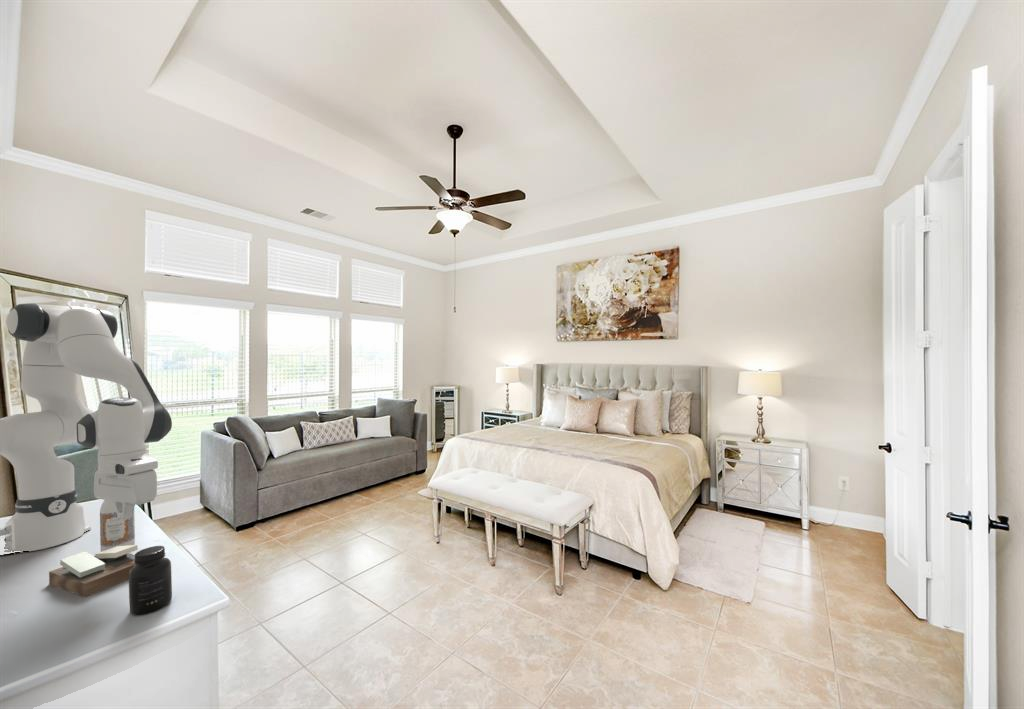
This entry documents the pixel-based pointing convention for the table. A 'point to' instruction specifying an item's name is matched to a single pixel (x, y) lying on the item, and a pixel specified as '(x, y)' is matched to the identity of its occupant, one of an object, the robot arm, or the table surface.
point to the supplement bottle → (150, 581)
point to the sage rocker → (82, 564)
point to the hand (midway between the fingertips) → (125, 518)
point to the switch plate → (94, 576)
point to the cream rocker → (116, 551)
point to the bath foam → (115, 528)
